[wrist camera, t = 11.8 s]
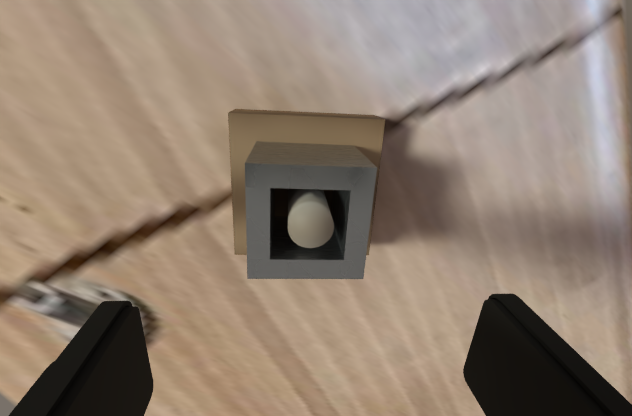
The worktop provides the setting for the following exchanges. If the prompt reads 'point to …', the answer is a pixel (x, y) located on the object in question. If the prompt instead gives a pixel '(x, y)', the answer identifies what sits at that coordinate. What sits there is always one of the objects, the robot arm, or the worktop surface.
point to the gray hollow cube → (272, 231)
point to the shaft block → (298, 204)
